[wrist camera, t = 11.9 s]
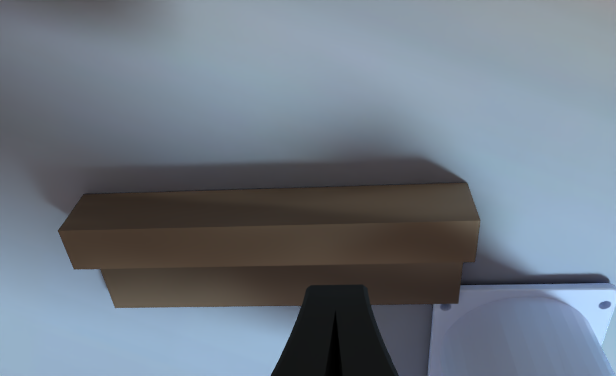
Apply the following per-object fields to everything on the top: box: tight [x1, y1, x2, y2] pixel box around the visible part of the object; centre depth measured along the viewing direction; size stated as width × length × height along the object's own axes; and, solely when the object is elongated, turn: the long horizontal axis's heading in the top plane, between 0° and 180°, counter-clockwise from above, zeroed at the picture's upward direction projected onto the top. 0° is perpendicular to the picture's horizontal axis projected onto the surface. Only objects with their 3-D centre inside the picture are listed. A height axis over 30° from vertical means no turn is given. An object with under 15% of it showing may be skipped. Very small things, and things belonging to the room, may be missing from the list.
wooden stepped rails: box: [58, 183, 480, 308], centre depth 19 cm, size 21×16×2 cm
